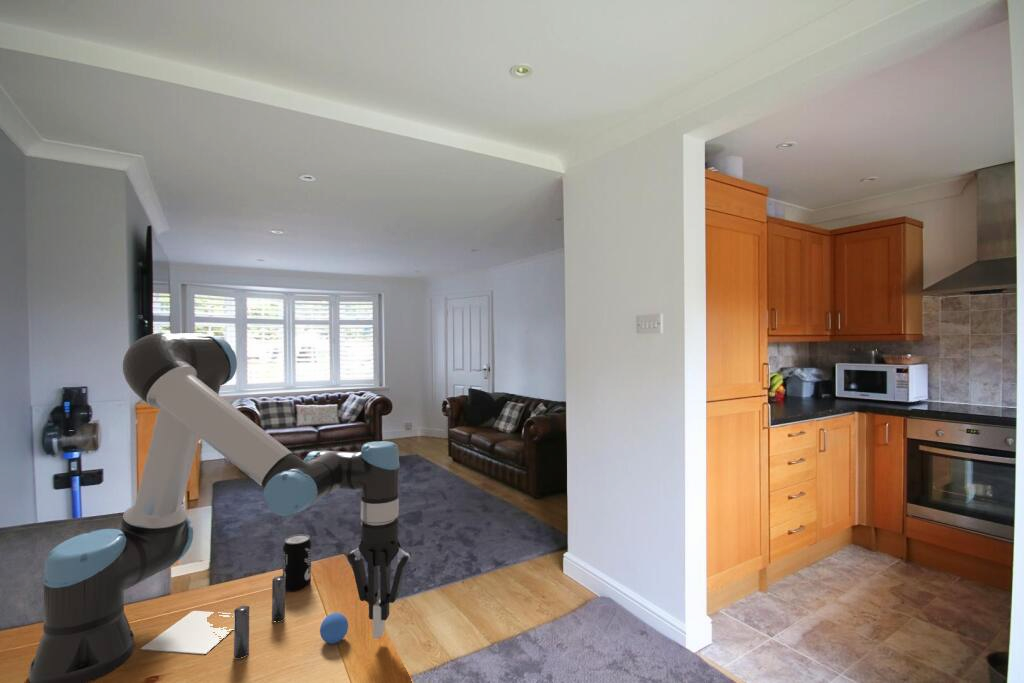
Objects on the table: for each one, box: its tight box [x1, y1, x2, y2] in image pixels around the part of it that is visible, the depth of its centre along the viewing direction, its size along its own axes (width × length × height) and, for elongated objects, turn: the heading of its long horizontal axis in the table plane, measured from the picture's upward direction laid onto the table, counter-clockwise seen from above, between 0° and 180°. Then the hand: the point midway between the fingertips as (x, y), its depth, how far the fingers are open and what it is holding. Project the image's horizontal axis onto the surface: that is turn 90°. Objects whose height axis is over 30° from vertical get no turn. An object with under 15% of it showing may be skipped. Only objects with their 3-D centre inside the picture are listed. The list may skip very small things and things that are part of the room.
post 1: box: [233, 605, 250, 659], centre depth 96 cm, size 3×3×9 cm
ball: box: [319, 612, 349, 644], centre depth 101 cm, size 6×6×6 cm
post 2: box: [271, 575, 286, 623], centre depth 109 cm, size 3×3×9 cm
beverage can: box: [282, 533, 312, 592], centre depth 124 cm, size 7×7×12 cm
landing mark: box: [140, 610, 234, 655], centre depth 104 cm, size 14×14×1 cm
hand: (378, 634), depth 100 cm, fingers closed
